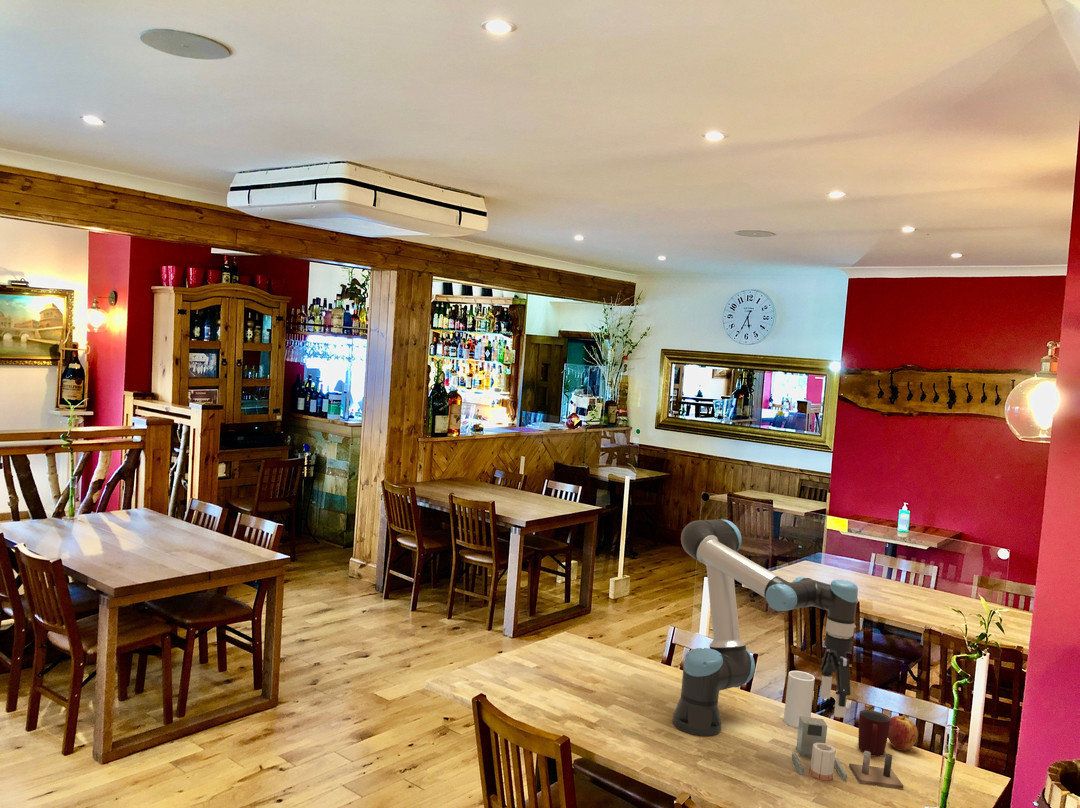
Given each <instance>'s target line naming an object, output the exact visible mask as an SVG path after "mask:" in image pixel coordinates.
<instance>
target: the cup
mask: <svg viewBox="0 0 1080 808" xmlns="http://www.w3.org/2000/svg"><path fill="white" fill-rule="evenodd" d="M815 680H816V678H815V676H814V675H813V674H811V673H808V672H805V671H802V670H791V671H789V672H788V676H787V685H786V693H785V694H786V695H785V704H784V714H783V722H784V723H785V724H786V725H788V726H789V727H792V728H795V729H798V727H799V718H800V716H803V717H811V716H812V710H813V709H812V707H813V706H812V705H813V699H814V689H815ZM811 718H812V717H811Z"/></svg>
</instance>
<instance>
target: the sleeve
mask: <svg viewBox="0 0 1080 808" xmlns="http://www.w3.org/2000/svg"><path fill="white" fill-rule="evenodd" d="M836 751H837V750H836V749H835V747H834V746H832V745H831V744H828V743H826V744H825V743H814V744H813V749H812V757H810V758H811V760H810V766H809V774H810V775H811V776H812V777H814V778H815V779H818V780H823V781H830V780H832V779H834V768H835V766H834V760H835V758H836Z"/></svg>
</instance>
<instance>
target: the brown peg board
mask: <svg viewBox="0 0 1080 808" xmlns="http://www.w3.org/2000/svg"><path fill="white" fill-rule="evenodd" d="M871 756H872V755H871V753H870V752H869V751H864V753H863V758H862V764H857V763H849V764H848V765H849V766H848V767H849V769H850V770H851V773H852V774H853V775H854V777H855V779H856V780H857V782H858V783H859V784H863V785H868V786H876V785H877V786H878V787H883V786H885V787H884V788H890V787H893V788H892V789H897V788H903V789H904V788H905V787H904V786H905V785H903V783H902V782H901V780H900V778H899V777H898V776H897V775H896V773H895V772H894V770H893V769H892V764H893V763H892V761H893V755H892V754H890V753H885V754H884V756H885V757H884V764H883V767H880V766H871V765H870V763H871V762H870V761H871Z"/></svg>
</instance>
